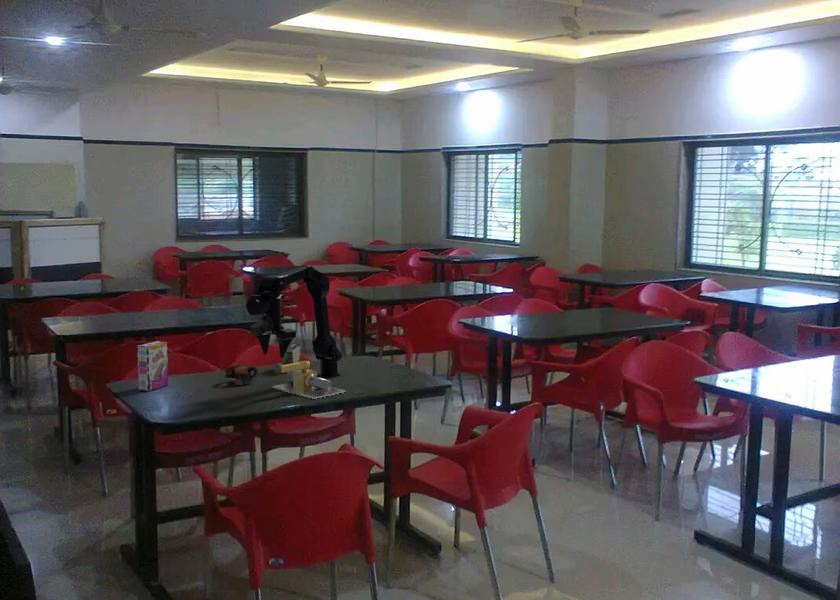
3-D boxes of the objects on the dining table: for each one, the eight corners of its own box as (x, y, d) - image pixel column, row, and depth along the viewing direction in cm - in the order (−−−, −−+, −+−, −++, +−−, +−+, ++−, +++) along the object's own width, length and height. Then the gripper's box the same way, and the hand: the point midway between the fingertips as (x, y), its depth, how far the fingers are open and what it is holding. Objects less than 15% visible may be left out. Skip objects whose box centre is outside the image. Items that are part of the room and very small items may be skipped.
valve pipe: (272, 388, 306) (271, 366, 305) (303, 382, 316) (302, 360, 315) (314, 399, 290) (313, 376, 289) (345, 392, 300) (345, 370, 299)
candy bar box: (149, 392, 302) (147, 346, 300) (138, 390, 304) (136, 345, 301) (169, 385, 312) (167, 341, 310) (158, 384, 314) (156, 340, 312)
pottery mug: (229, 389, 308) (222, 368, 310) (230, 394, 317) (223, 374, 319) (261, 378, 312) (254, 357, 314) (261, 384, 321) (254, 364, 322)
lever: (305, 366, 306) (305, 358, 305) (311, 367, 303) (311, 359, 303) (272, 372, 295) (271, 364, 295) (278, 373, 293) (278, 365, 293)
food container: (286, 365, 346) (285, 341, 345) (301, 365, 346) (300, 341, 344) (277, 371, 334) (276, 346, 333) (292, 372, 333) (291, 347, 332)
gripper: (237, 311, 298) (238, 355, 300) (271, 316, 286) (272, 362, 287) (263, 308, 306) (263, 351, 308) (296, 313, 294) (297, 358, 296)
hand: (273, 355), depth 300 cm, fingers open, 9 cm apart
